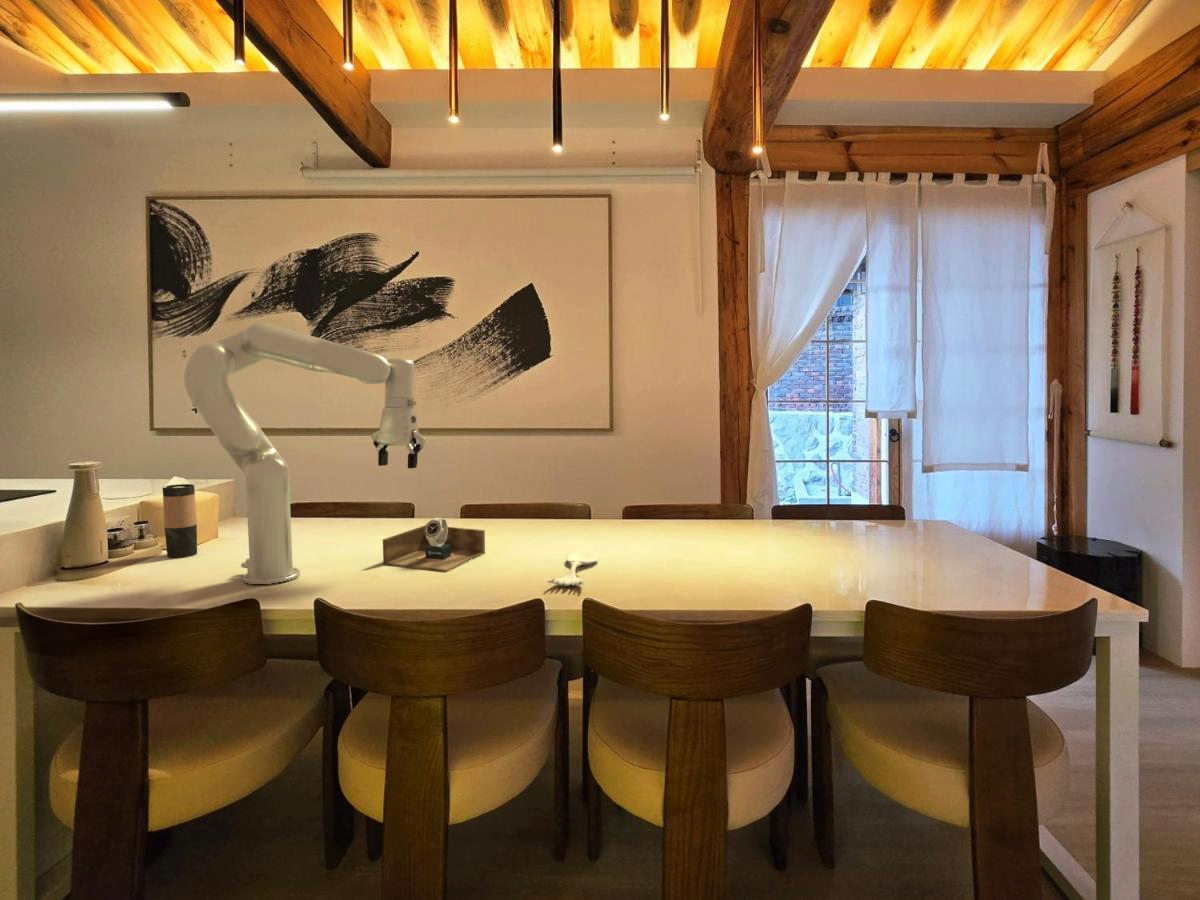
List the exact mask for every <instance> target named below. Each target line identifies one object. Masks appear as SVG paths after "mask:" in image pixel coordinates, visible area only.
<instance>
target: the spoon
mask: <svg viewBox="0 0 1200 900" xmlns="http://www.w3.org/2000/svg"><path fill="white" fill-rule="evenodd" d="M565 560H566V561H567V562H568V563H569V565H570V569H569V570H568V573H566V576H563V577H560V578H559V577H558V578H555V579H554V578H548V579H547V583H548V584H554V585H559V586H565V587H571V586H570V585H572V587H574V585H575V586H580V585H581V586H583V585H584V583H585V582H584V580H583V579H581V578H579V577H577V576H576V570H577V568H578V567H580V566H585V565H586V564H587V565H590V564H594V563H595V562H597V561H598V560H599V554H597V553H596V551H593V550H589V549H579V550H575V551H572V552H570V553H568V554H567V555H566V558H565ZM587 565H586V566H587Z"/></svg>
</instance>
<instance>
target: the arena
mask: <svg viewBox="0 0 1200 900" xmlns="http://www.w3.org/2000/svg"><path fill="white" fill-rule="evenodd" d="M425 526H426V524H425V525H421V526H418V527H416V528H413V529H411V530H407V531H404V532H401V533H399V534H395V535H391V536H389V537H386V538H383V539H382V556H383V558H382V559H383V561H382V562H383V565H385V566H394V567H402V568H409V569H419V570H425V569H428V571H434V570H438V571H437V572H442V571H448V570H450V569H452V570H453V568H454V569H456V568H458V567H460V566H462V565H464V564H466V563H468V562H470V561H469V560H471V559H473V558H475V559H477V558H479V557H480V555H481V556H483V555H485V554H486V537H485V536H486V535H485V534H486V533H485V531H486V529H478V528H477V529H476V528H463V527H455V526H453V527H452V526H448V534H447V539H446V542H445V543H444V544H446V545H451V556H449V557H447V558H446V559H444V560H443V559H430V558H426V551H425V547H427V546H429V545H430V544H429V542H428V539H427V538H426V534H425V530H424V529H425ZM436 542H438V540H436ZM484 553H485V554H484ZM482 554H483V555H482ZM478 556H479V557H478ZM476 557H477V558H476ZM473 560H474V559H473ZM467 561H468V562H467ZM471 561H472V560H471ZM465 562H466V563H465ZM463 563H464V564H463ZM461 564H462V565H461ZM459 565H460V566H459ZM457 566H458V567H457ZM455 567H456V568H455ZM450 571H451V570H450ZM448 572H449V571H448Z"/></svg>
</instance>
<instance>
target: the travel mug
mask: <svg viewBox="0 0 1200 900" xmlns="http://www.w3.org/2000/svg"><path fill="white" fill-rule="evenodd" d="M195 491H196V490H195V484H191V483H190V484H189V483H187V484H186V483H183V484H182V483H181V484H179V483H178V484H170V485H167V486H165V487H162V499H163V500H162V502H163V504H162V505H163V525H164V537H165V546H166V555H167V556H166V557H167V558H168V559H184V558H189V557H193V556H196V555H197V554H198V527H197V526H198V523H197V522H198V521H197V507H196V494H195V493H196V492H195Z"/></svg>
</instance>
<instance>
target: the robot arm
mask: <svg viewBox="0 0 1200 900" xmlns="http://www.w3.org/2000/svg"><path fill="white" fill-rule="evenodd" d="M264 360H270V361H274V362H278V363H282V364H286V365H289V366H293V367H297V368H300V369H304V370H308V371H313V372H316V373H317V372H319V373H328V374H337V375H339V376H340V375H341V376H345V377H349V378H352V379H356V380H358V382H360V383H361V384H362V383H363V384H364V385H365V384H366V385H378V384H379V385H380V384H384V408H383V409H382V410H381V411H382V412H381V415H380V422H379V430H377V431H375V432H373V433H372V434H371V435H370V437H371V440H372V442H373V445H374V446H375V447H374V448H376V451H377V456H378V457H377V458H378V461H377V463H378V464H377V465H378V467H379V466H380V467H381V466H387V465H388V463H389V451H388V448H389V447H390V446H392V447H393V446H396V447H405V448H406V449H407V450H408V452H409V453H408V454H407V468H408V469H416V468H417V467H418V454H420V452H421V450H422V449H423V448H424V445H425V443H426V442H427V438H426V437H425V436H424V435H422V434H421V433H419V418H418V414H417V410H416V409H415V410H414V407H415V406H417V401H416V400H414V397H415V395H414V394H415V363H414V361H413V360H411V359H407V358H398V357H397V358H388V359H386V358H385V357H383V356H382V355H380V354H376V353H374V352H370V351H366V350H363V349H360V348H356V347H353V346H350V345H345V344H341V343H337V342H334V341H331V340H328V339H325V338H324V339H323V338H320V337H317V336H313V335H309V334H307V333H302V332H301V331H300V332H299V331H296V330H292V329H289V328H285V327H282V326H280V325H279V326H278V325H275V324H273V323H269V322H262V321H258V322H254V323H251V324H250V325H248V326H247V327H246V328H245V329H244V330H242V331H239V332H238V333H235V334H233V335H230V336H228V337H225V338H223V339H220V340H217V341H210V342H205V343H203V344H200V345H199V346H198V347H196V349H195V350H193V352H192V354H191V355H190V357H189V358H188V360H187V363H186V365H185V368H184V373H183V382H184V388H185V390H186V394H187V396H188V398H189V399H190V402H191V403H192V405H193V406H194V408H195V409H196V410H197V412H198V414H199V415H200V417H202V419H203V421H204V422H205V423H206V425H207V426H208V427H209V429H210V430H211V431H212V433H213V434H214V436H215V437H216V439H217V441H218V443H219V445H220V446H221V447H222V448H223V449H224V450H225V451H226V452H227V453H228V455H229V456H230V458H231V459H232V460H233V461H234V463H235V464H236V465H237V466H238V468H239V470H240V471H241V472H242V474H244V476H245V490H246V513H247V531H248V533H247V534H248V552H249V554H248V555H249V557H248V558H246V559H245V562H244V561H243V562H241V563H240V567H241V568H242V569H246V570H247V573H245V574H244V575H243V577H242V578H243V579H242V580H243V583H244V584H247V583H248V584H247V585H252V584H268V585H271V584H270V583H276V584H279V583H278V582H282V583H284V582H283V581H286V582H288V581H287V580H289V581H291V580H290V579H292V580H294V578H295V579H296V577H297V578H299V576H300V571H301V570H300V569H299V568H297V567H294V566H293V542H292V541H293V540H292V517H291V471H290V467H289V465H288V463H287V461H286V460H285V459H284V458H283V457H282V456H281V454H280V453H279V452H278V450H277V449H276V448H275V446H274V445H273V444H272V442H271V441H270V439H269V438H268V436H267V435H266V434H265V433H264V431H263V430H262V429H261V427H260V425H259V424H258V422H257V421H256V420H254V419H253V418H252V417H251V416H250V415H249V413H248V412H247V411H246V410H245V408H244V406H242V404H241V403H240V401H239V400H238V398H237V396H236V395H235V393H234V392H233V390H232V389H231V388H230V385H229V382H228V378H229V376H231V375H233V374H235V373H236V374H237V373H238V372H240V371H243V370H245V369H247V368H250V367H251V366H254V365H256V364H258V363H260V362H263V361H264Z"/></svg>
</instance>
